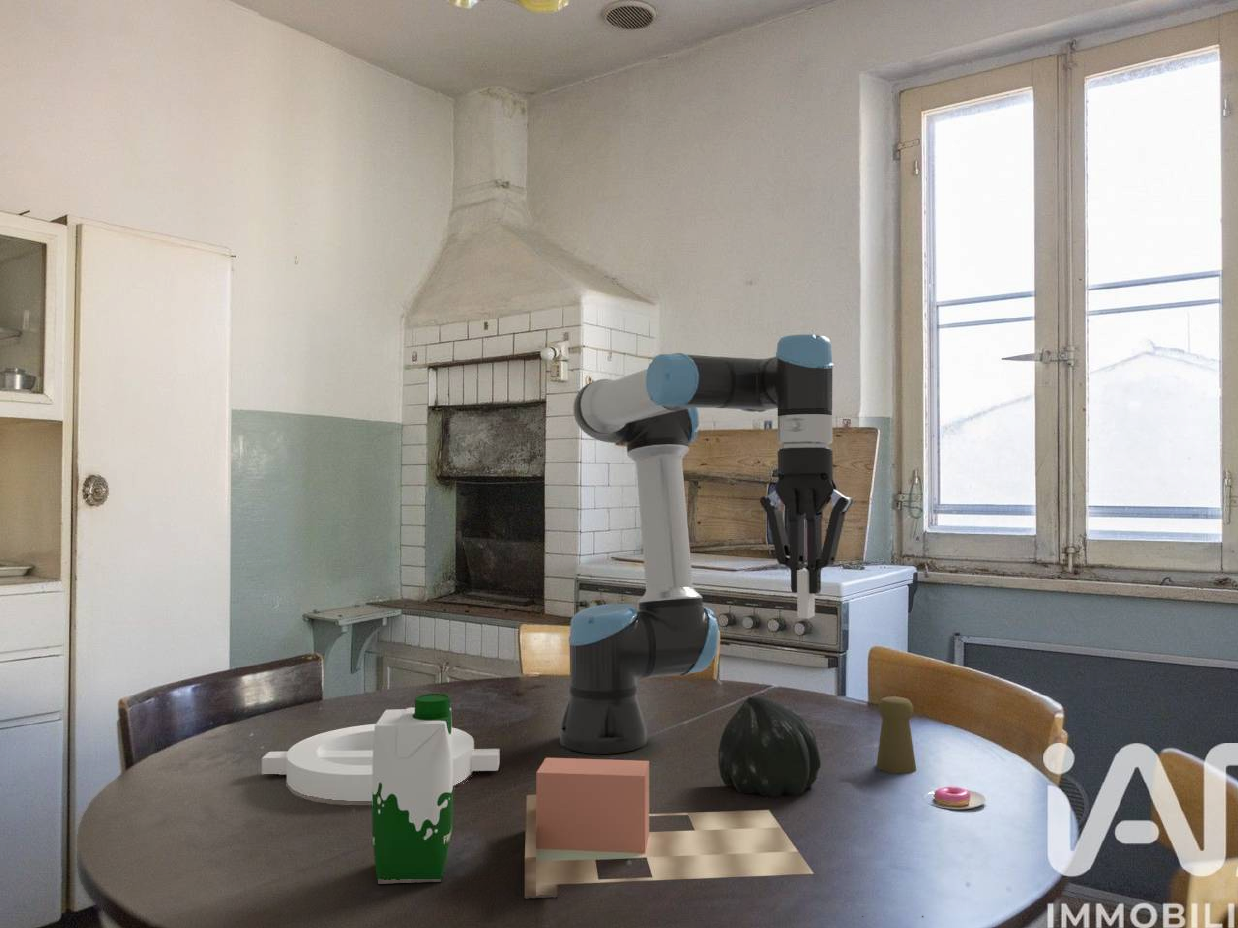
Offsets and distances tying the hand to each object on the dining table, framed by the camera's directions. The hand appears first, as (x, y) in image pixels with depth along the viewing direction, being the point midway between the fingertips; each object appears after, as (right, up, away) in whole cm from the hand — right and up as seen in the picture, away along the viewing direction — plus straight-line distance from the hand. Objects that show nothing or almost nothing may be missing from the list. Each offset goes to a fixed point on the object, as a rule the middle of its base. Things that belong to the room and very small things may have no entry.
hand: (806, 616), depth 127 cm
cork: (+18, -27, +18) cm, 37 cm away
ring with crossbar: (-63, -28, +15) cm, 70 cm away
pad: (-30, -26, -17) cm, 43 cm away
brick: (-29, -25, -16) cm, 41 cm away
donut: (+23, -27, +3) cm, 36 cm away
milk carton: (-50, -26, -21) cm, 60 cm away
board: (-21, -26, -17) cm, 37 cm away
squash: (-4, -27, +6) cm, 28 cm away
